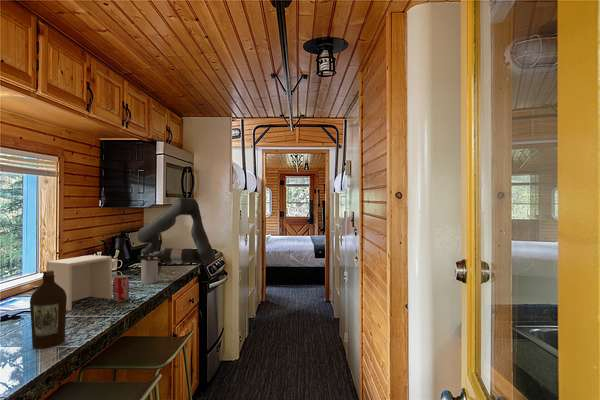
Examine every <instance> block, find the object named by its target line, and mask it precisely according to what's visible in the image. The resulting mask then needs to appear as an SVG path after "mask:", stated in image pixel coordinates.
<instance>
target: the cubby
mask: <svg viewBox="0 0 600 400" xmlns="http://www.w3.org/2000/svg"><path fill="white" fill-rule="evenodd" d="M112 259H113V256H110V255H109V256H108V255H98V254H97V255H96V254H88V255H81V256H75V257H70V258H62V259H56V260H49V261H46V271H54V281H55V283H56V284H58V285H59V286H60V287H61V288H63V289H64V291H65V293H66V296H67V302H66V312H67V311H68V312H69V311H70V312H71V311H72V308H73V307H72V304H73V303H72V302H75V301H79V300H82V299H86V298H89V297H93V298H99V299H106V300H112V299H113V272H112V271H113V262H112V261H113V260H112Z"/></svg>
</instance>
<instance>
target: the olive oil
mask: <svg viewBox="0 0 600 400" xmlns="http://www.w3.org/2000/svg"><path fill="white" fill-rule="evenodd" d="M42 274H43V275H42V283H41V284H40V285H39V286H38V287H37V288H36V290H35V291H33V293H32V295H31V296H30V300H29V311H30V324H31V325H30V326H31V344H32V345H31V346H32V347H33V348H34V349H48V348H52V347H56V346H60V345H61V344H63V343H64V342H65V340H66V318H67V317H66V316H67V315H66V314H67V310H66V302H67V296H66V293H65V291H64V289H63V288H61V287H60V286H59V285H58V284H56V283H55V281H54V271H47V270H46V271H45V270H44V271H43V272H42Z"/></svg>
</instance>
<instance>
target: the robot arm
mask: <svg viewBox="0 0 600 400" xmlns="http://www.w3.org/2000/svg"><path fill="white" fill-rule="evenodd" d="M179 216H191V218H192V226H191V230H190V232H191V233H190V236H191V237H192V241H193V242H194V245H195V246H196V249H194V248H188V247H187V248H181V247H166V248H164V249H163V250H162V251H161V250H160V251H159V243H160V241H159V240H160V234H161V233H164V232H167V231H168V230H170V229H171V228H173V227H174V226H175V224H176V222H177V217H179ZM136 238H137V240H138V242H140V243H142V244H148V245H147V246H146V247H144V248H142V249H141V250H140V254H139V255H137V256H136V257H137V259H136V260H138V261H140V266H141V267H140V280H141V281H140V283H141V284H142V285H151V284H152V285H153V284H157V283H158V282H159V280H158V275H159V273H158V272H159V271H158V269H159V266H158V264H159V262H158V261H161V260H162V263H164V264H185V263H187V264H188V263H194V264H199V265H210V264H213V263H214V262H215V261H216V254H215V252H214V249H213V248H212V246H211V243H210V241H209V238H208V235H207V233H206V230H205V227H204V225H203V220H202V215H201V211H200V206H199V203H198V200H196V199H195V198H193V197H192V198H190V197H179V198H177V199H176V200H175V201H174V202H173V203H172V204H171V206H169V207H168V208H167V209H166V210H165V211H164V212H162V213H160V214H159V215H158V216H157V217H156V218H154V220H152V221H151V222H149V223H148V224H146V225H145V226H143V227H141V228H139V230H138V232H137V236H136Z"/></svg>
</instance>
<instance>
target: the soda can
mask: <svg viewBox="0 0 600 400" xmlns="http://www.w3.org/2000/svg"><path fill="white" fill-rule="evenodd" d="M129 283H130V281H129V277H128V275H126V274H118V275H115V276H114V278H113V279H112V299H113V300H114V301H115V302H117V303H118V302H119V303H121V302H125V301H127V300H128V299H129V296H130V284H129Z"/></svg>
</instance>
